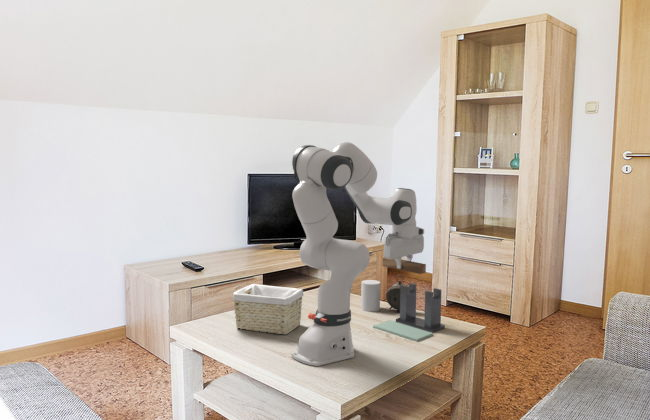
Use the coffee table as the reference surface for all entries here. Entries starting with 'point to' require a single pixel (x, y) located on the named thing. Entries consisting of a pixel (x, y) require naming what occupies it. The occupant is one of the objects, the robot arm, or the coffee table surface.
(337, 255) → the robot arm
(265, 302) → the storage basket
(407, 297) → the hook stand
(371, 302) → the white cylinder
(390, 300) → the alarm clock
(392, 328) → the mat
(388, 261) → the rail
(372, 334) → the coffee table surface
